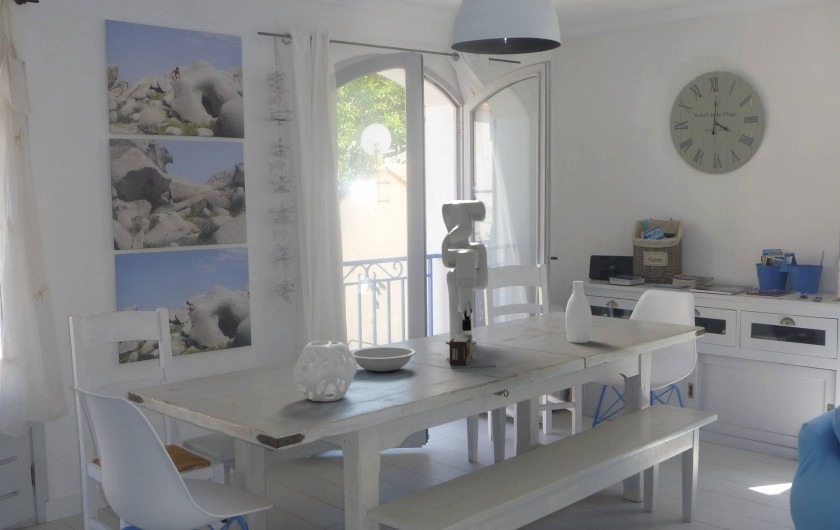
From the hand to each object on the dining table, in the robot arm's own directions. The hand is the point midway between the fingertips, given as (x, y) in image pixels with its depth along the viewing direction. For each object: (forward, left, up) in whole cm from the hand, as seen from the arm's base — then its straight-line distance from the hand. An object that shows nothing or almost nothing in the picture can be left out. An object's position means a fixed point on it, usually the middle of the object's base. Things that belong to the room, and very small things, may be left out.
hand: (466, 330), depth 328 cm
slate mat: (+11, 0, -11) cm, 15 cm away
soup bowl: (+19, -33, -11) cm, 40 cm away
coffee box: (+2, -1, -6) cm, 6 cm away
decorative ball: (+60, -52, -11) cm, 80 cm away
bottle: (-28, +51, -11) cm, 59 cm away
